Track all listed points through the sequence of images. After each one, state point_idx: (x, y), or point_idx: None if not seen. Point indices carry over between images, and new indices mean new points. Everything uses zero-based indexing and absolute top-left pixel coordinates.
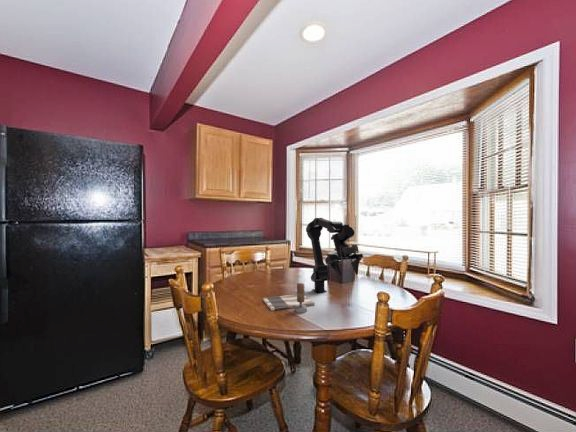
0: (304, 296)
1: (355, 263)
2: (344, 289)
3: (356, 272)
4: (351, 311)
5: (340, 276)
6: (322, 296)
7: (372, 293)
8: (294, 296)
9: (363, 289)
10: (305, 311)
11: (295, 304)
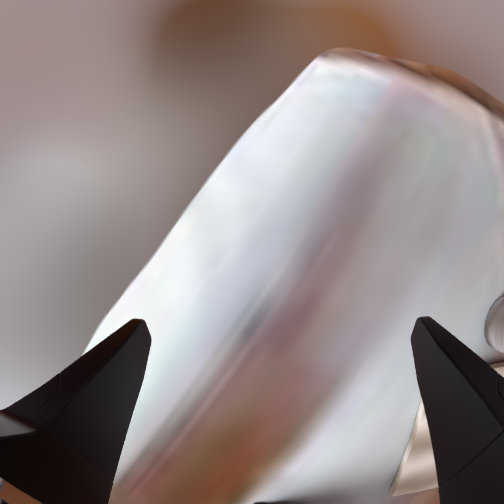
0: (411, 466)
1: (55, 442)
2: (153, 491)
3: (136, 340)
4: (301, 226)
5: (419, 328)
6: (309, 472)
7: None
8: None
9: None
10: (500, 299)
11: (502, 375)
